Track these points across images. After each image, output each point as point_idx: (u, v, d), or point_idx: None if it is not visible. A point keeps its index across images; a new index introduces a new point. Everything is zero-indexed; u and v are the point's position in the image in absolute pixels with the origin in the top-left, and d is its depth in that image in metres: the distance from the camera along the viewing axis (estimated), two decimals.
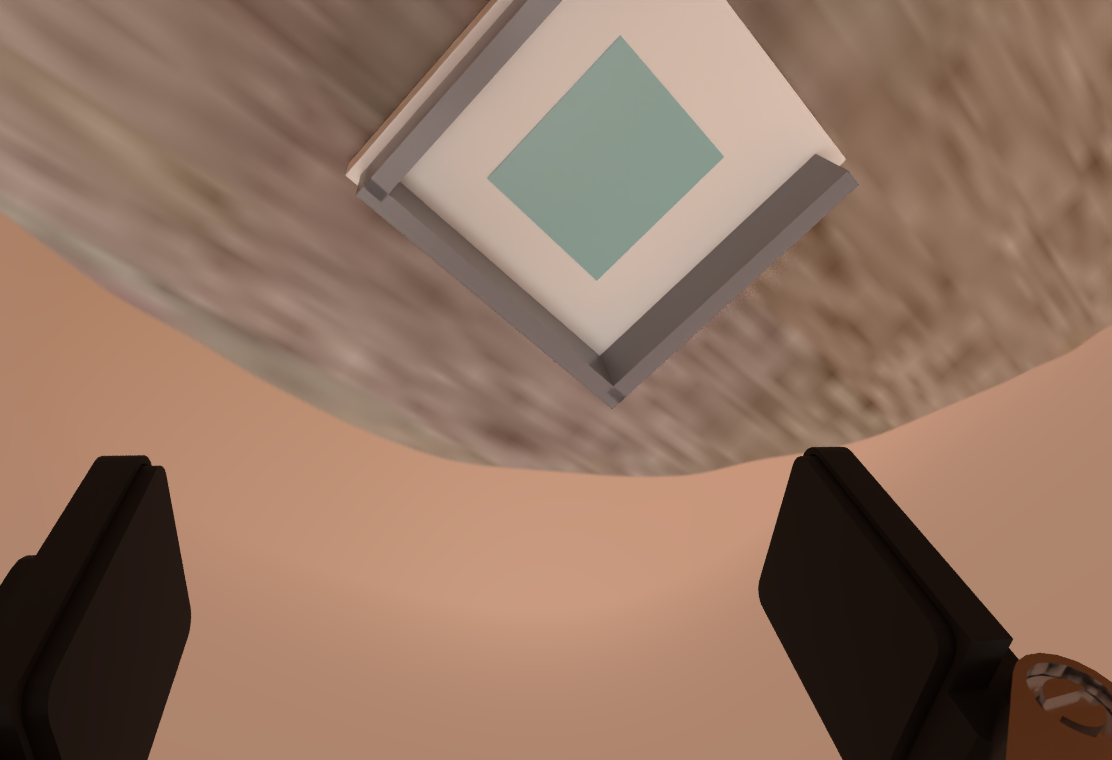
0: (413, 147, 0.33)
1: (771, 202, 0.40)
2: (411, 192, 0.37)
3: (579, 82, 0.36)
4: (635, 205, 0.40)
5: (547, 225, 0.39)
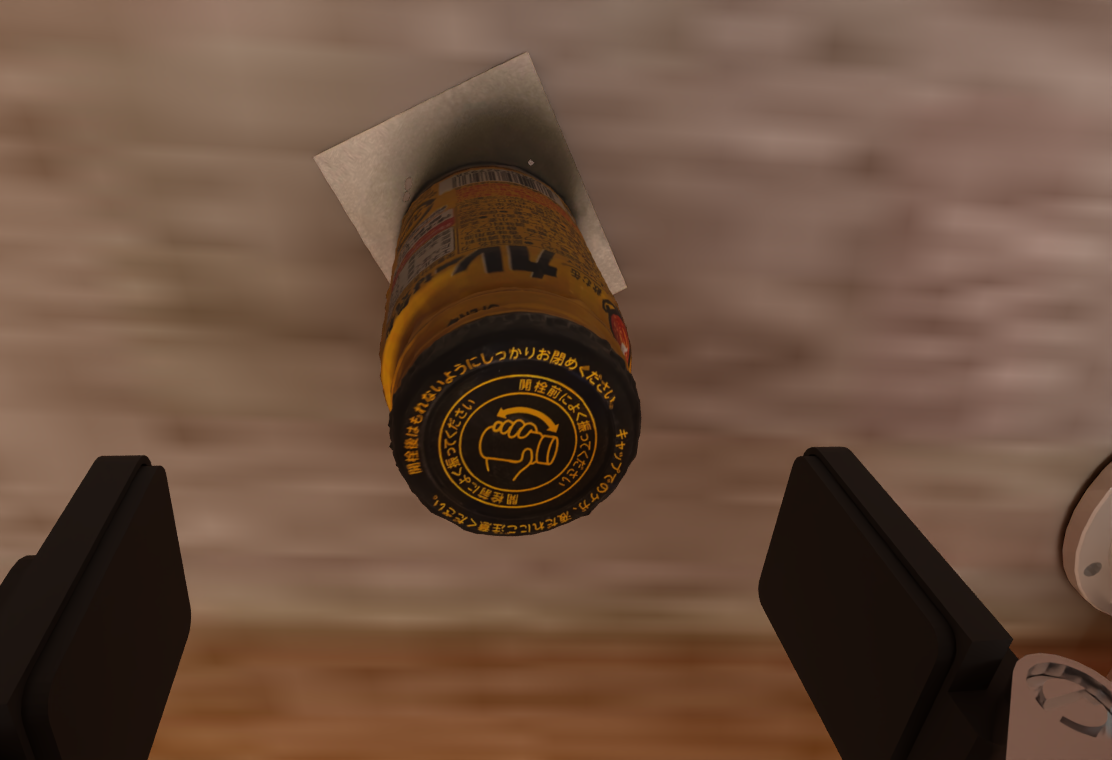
0: None
1: None
2: None
3: None
4: None
5: None
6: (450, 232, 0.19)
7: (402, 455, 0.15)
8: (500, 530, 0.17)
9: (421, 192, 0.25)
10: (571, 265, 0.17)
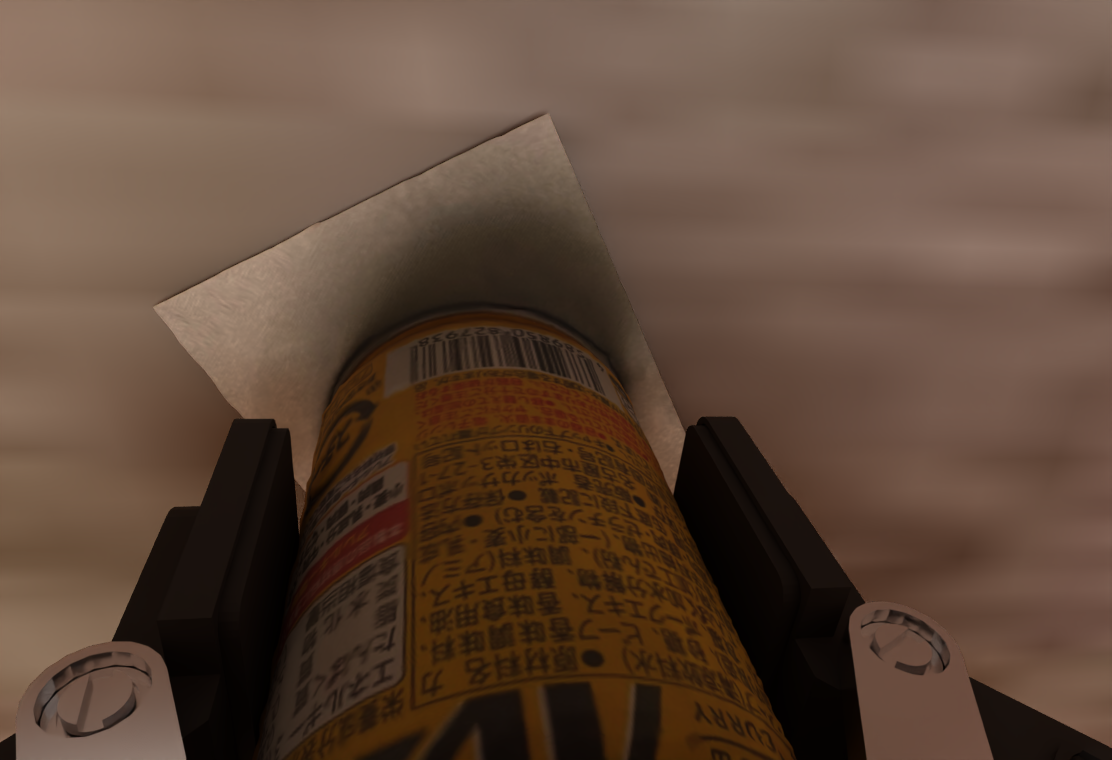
0: None
1: None
2: None
3: None
4: None
5: None
6: (396, 573, 0.08)
7: None
8: None
9: (358, 357, 0.14)
10: (707, 734, 0.07)
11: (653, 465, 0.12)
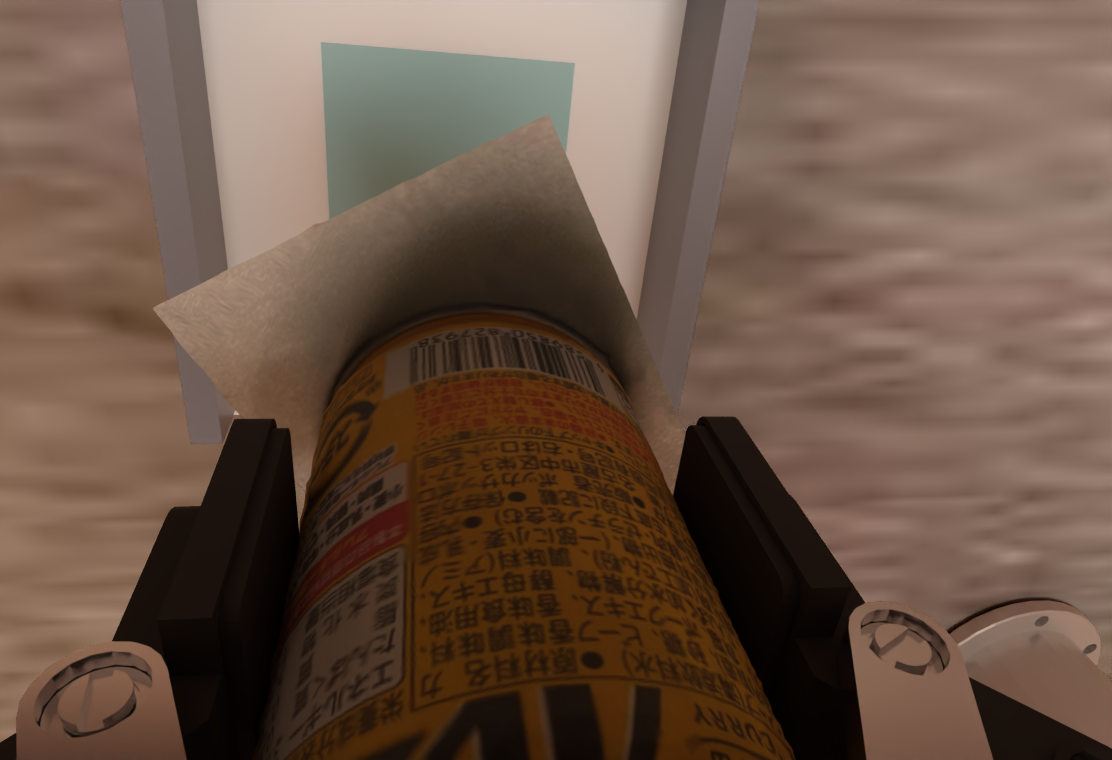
0: (731, 63, 0.23)
1: None
2: None
3: None
4: (373, 179, 0.26)
5: (454, 65, 0.25)
6: (396, 575, 0.08)
7: None
8: None
9: (358, 358, 0.14)
10: (707, 736, 0.07)
11: (653, 466, 0.11)
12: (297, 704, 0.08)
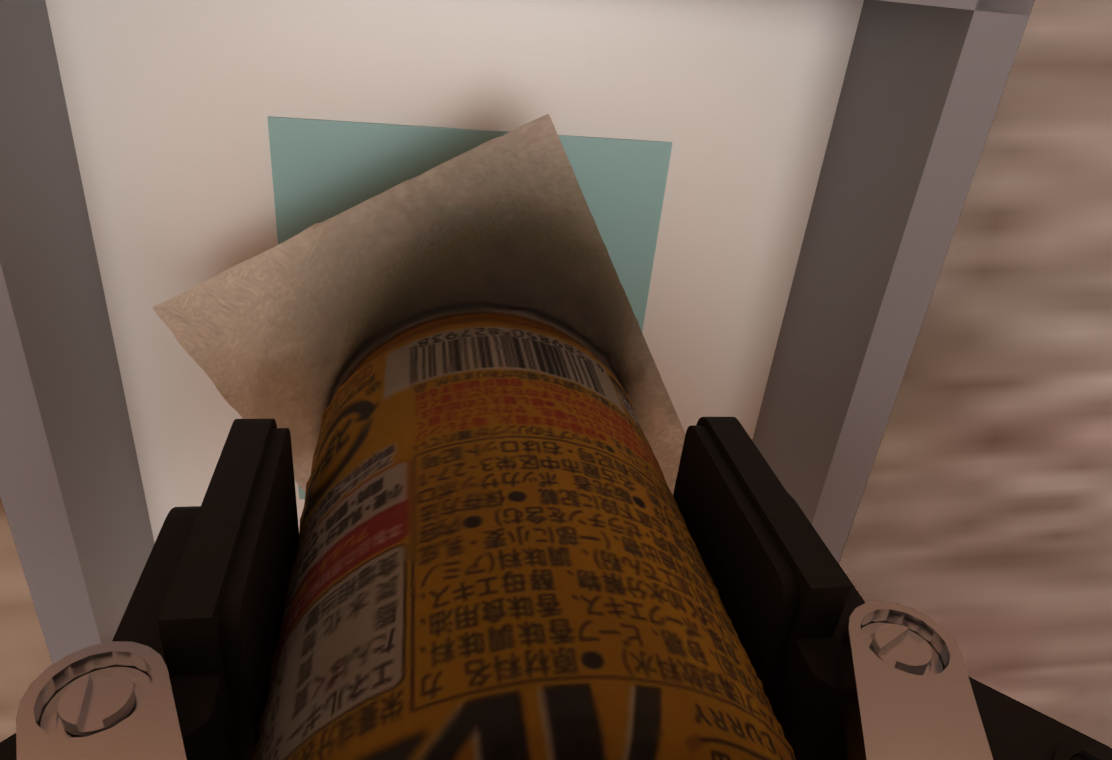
0: (955, 156, 0.13)
1: (139, 524, 0.18)
2: None
3: None
4: None
5: None
6: (396, 575, 0.08)
7: None
8: None
9: (357, 358, 0.14)
10: (708, 736, 0.07)
11: (653, 466, 0.11)
12: (297, 704, 0.08)
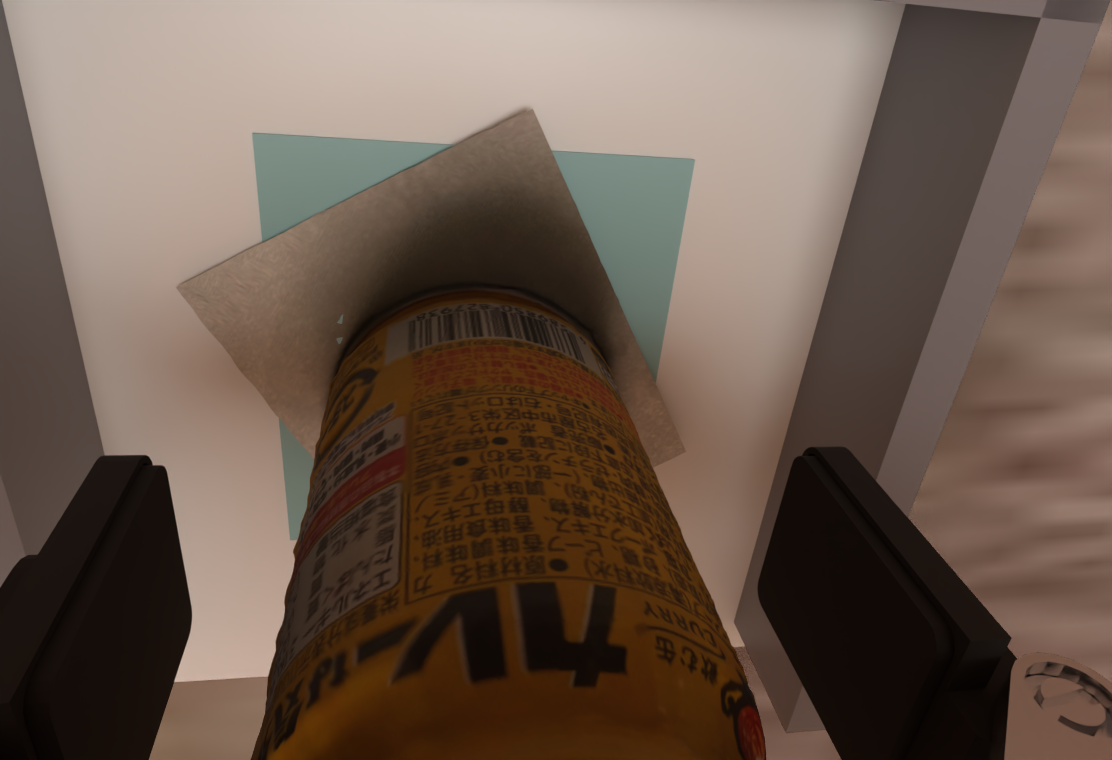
0: (1012, 179, 0.12)
1: None
2: None
3: None
4: None
5: None
6: (394, 504, 0.09)
7: None
8: None
9: (361, 333, 0.15)
10: (654, 625, 0.08)
11: (627, 424, 0.13)
12: (310, 611, 0.09)
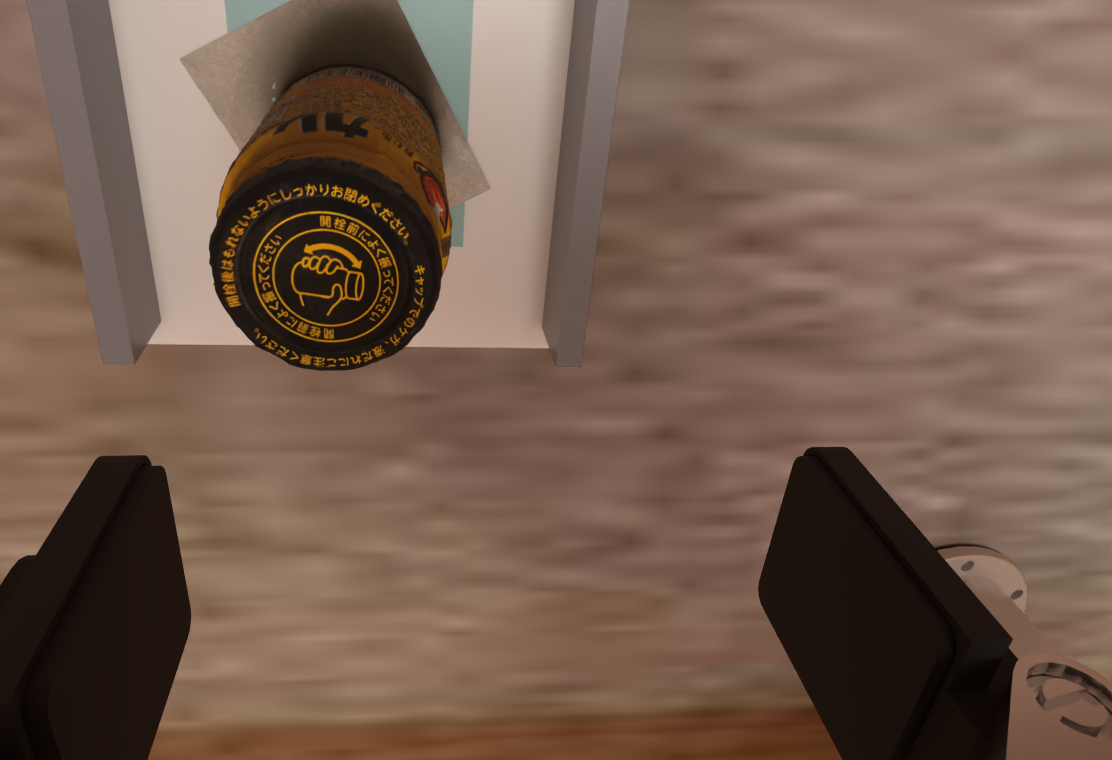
0: None
1: (143, 246, 0.28)
2: None
3: None
4: None
5: None
6: (284, 109, 0.21)
7: (220, 288, 0.17)
8: (321, 363, 0.19)
9: None
10: (384, 129, 0.19)
11: (421, 121, 0.24)
12: None
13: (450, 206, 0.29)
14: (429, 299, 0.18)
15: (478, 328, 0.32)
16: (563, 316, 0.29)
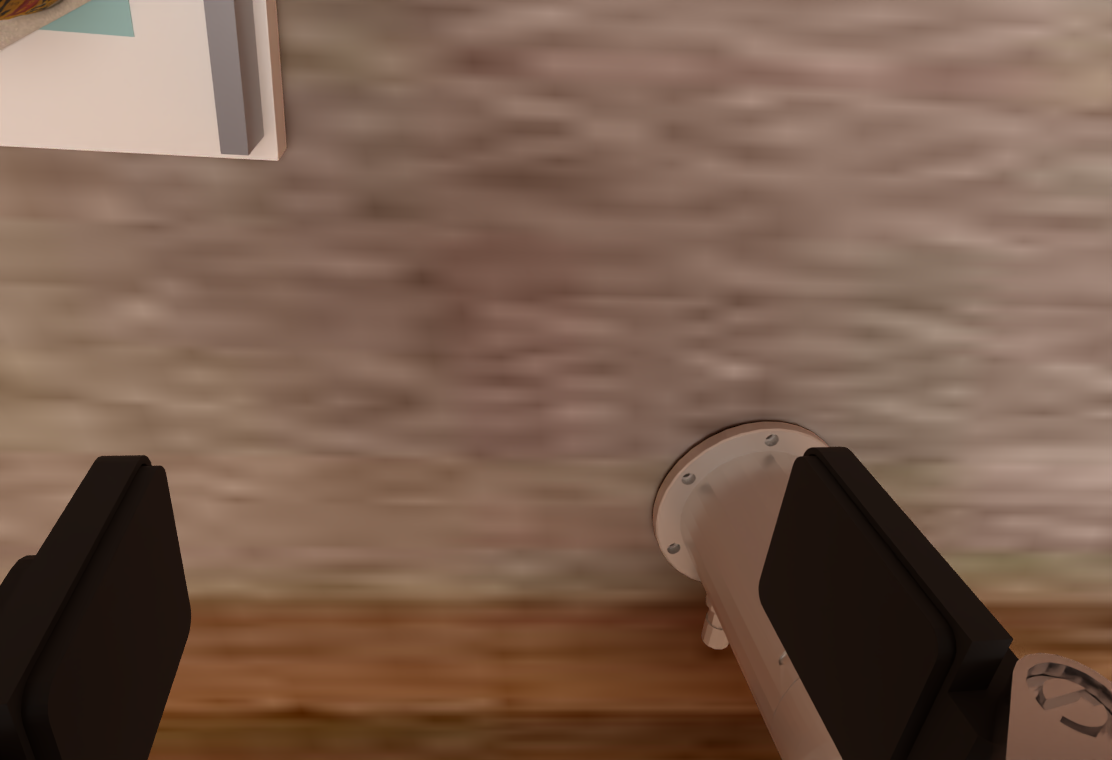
0: None
1: None
2: None
3: None
4: None
5: None
6: None
7: None
8: None
9: None
10: None
11: None
12: None
13: None
14: None
15: (170, 133, 0.32)
16: (216, 94, 0.28)
